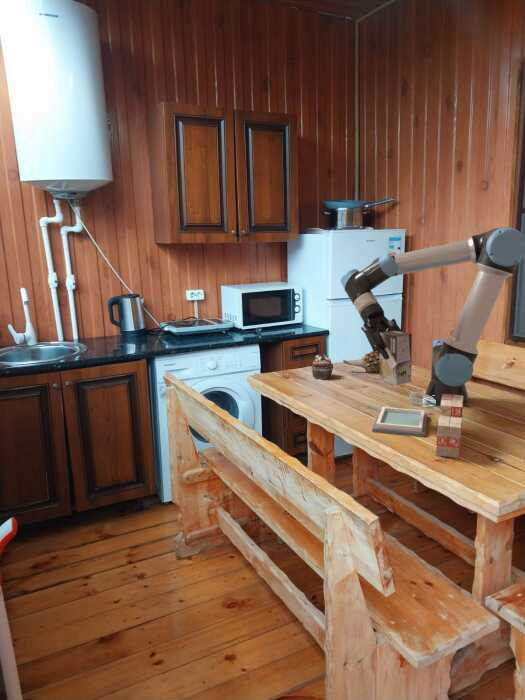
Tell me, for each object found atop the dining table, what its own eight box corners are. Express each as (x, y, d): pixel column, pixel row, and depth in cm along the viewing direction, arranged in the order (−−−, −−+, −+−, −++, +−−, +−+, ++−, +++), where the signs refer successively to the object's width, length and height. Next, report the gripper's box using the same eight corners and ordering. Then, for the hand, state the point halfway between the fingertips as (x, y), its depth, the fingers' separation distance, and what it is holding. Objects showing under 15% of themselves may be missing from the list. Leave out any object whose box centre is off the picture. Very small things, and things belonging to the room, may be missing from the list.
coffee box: (412, 382, 170) (413, 333, 166) (396, 385, 167) (397, 336, 163) (393, 376, 178) (393, 329, 174) (378, 379, 175) (378, 331, 171)
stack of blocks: (459, 459, 146) (461, 417, 144) (435, 456, 149) (437, 414, 146) (461, 432, 166) (463, 394, 163) (440, 430, 168) (442, 393, 165)
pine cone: (386, 368, 244) (387, 347, 242) (393, 373, 235) (393, 352, 233) (339, 370, 243) (340, 349, 241) (344, 375, 234) (344, 354, 231)
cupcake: (308, 375, 235) (308, 353, 233) (328, 373, 238) (328, 352, 236) (315, 381, 226) (315, 358, 224) (336, 379, 229) (336, 356, 227)
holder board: (427, 416, 180) (427, 409, 179) (424, 436, 162) (425, 429, 162) (379, 412, 185) (379, 405, 184) (372, 431, 167) (372, 424, 167)
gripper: (385, 313, 186) (418, 366, 175) (341, 319, 176) (373, 376, 166) (396, 299, 180) (431, 354, 170) (351, 304, 171) (386, 363, 160)
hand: (403, 364), depth 168 cm, fingers closed on coffee box, 7 cm apart
